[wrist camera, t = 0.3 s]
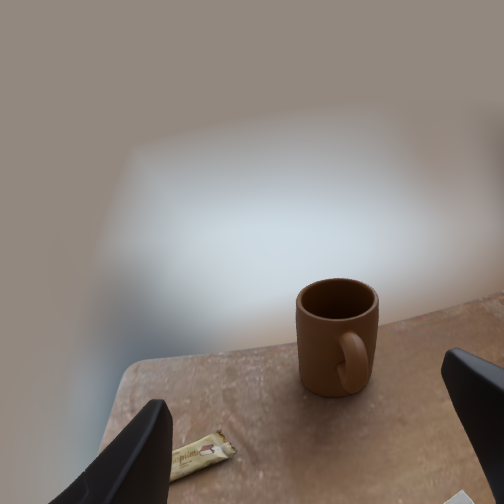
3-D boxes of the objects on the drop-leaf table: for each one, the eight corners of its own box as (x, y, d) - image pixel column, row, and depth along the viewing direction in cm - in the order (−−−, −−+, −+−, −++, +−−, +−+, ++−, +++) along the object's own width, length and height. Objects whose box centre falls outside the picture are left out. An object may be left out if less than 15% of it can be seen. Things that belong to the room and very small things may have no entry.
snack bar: (135, 495, 18) (121, 465, 20) (140, 497, 19) (127, 468, 21) (238, 452, 22) (221, 425, 24) (238, 456, 23) (221, 429, 25)
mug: (392, 426, 22) (413, 347, 19) (307, 442, 23) (306, 366, 19) (361, 346, 34) (365, 272, 30) (296, 355, 34) (290, 281, 31)
